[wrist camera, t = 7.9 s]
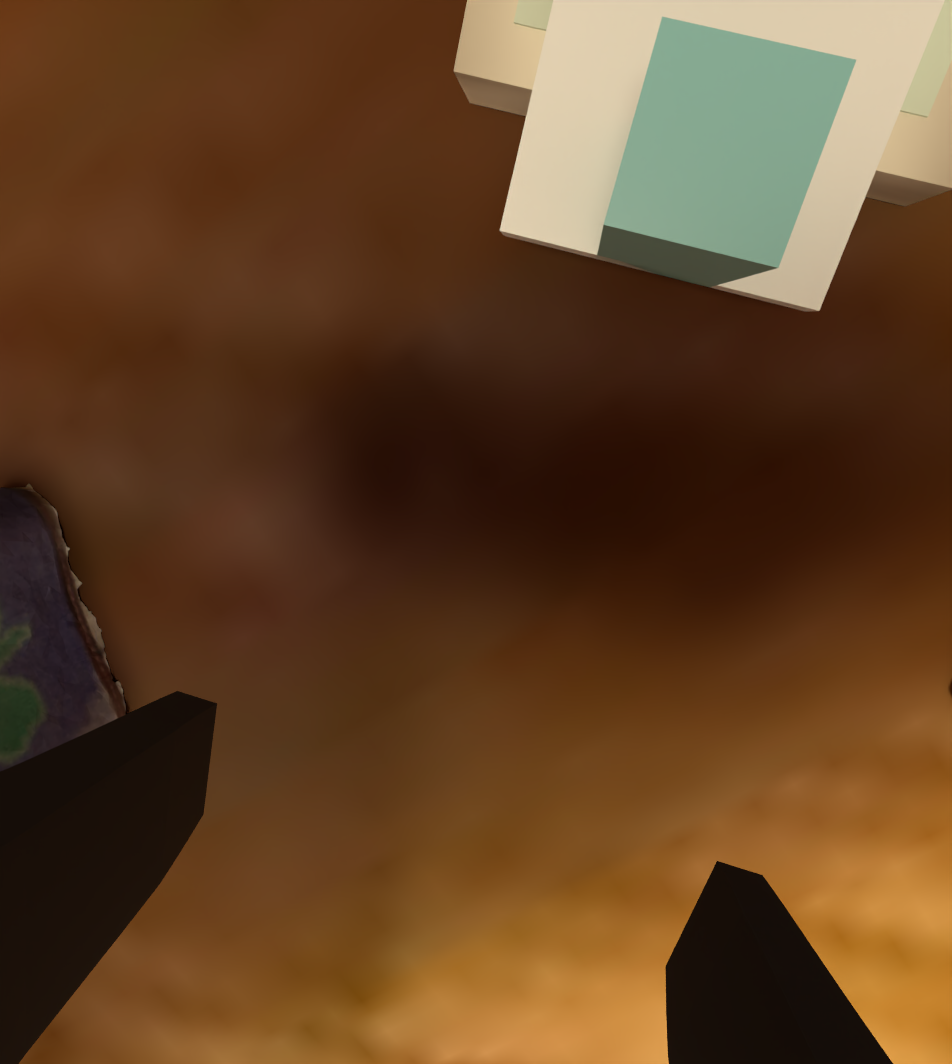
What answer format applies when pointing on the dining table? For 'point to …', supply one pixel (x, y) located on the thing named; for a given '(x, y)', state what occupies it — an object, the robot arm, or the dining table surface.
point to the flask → (45, 638)
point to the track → (905, 166)
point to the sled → (713, 135)
